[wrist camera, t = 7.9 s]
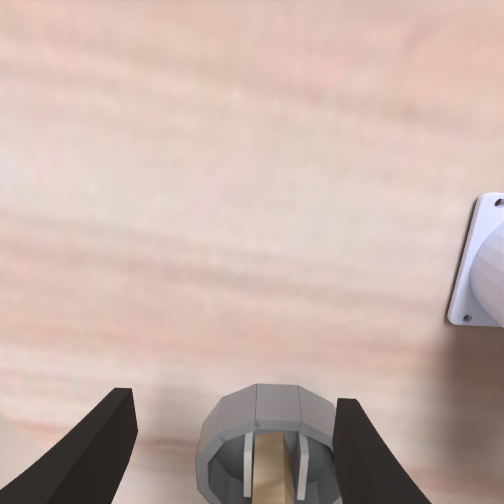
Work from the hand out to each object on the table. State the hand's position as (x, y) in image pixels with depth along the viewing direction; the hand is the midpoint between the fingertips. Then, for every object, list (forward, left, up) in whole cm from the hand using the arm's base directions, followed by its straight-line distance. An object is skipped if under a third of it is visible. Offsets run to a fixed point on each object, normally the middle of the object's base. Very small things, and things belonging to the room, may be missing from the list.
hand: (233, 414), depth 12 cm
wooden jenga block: (-2, +13, -9) cm, 16 cm away
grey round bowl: (-2, +13, -10) cm, 16 cm away
